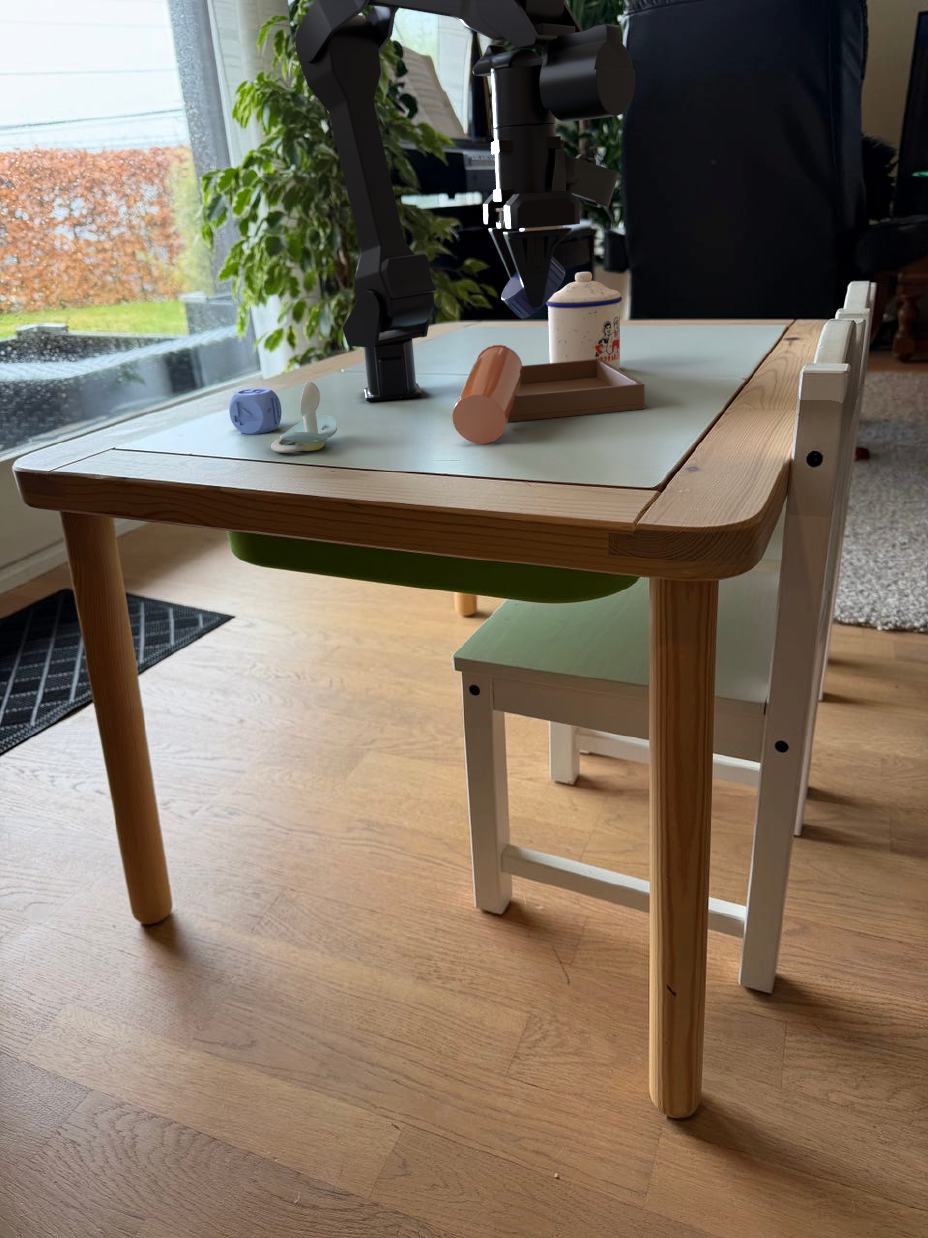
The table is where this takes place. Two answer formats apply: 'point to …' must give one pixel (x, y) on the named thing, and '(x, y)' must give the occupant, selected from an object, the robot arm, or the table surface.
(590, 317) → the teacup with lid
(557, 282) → the lid
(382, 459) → the table surface
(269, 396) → the decorative dice
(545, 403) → the tray
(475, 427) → the jar
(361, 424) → the table surface
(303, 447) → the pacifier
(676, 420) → the table surface
